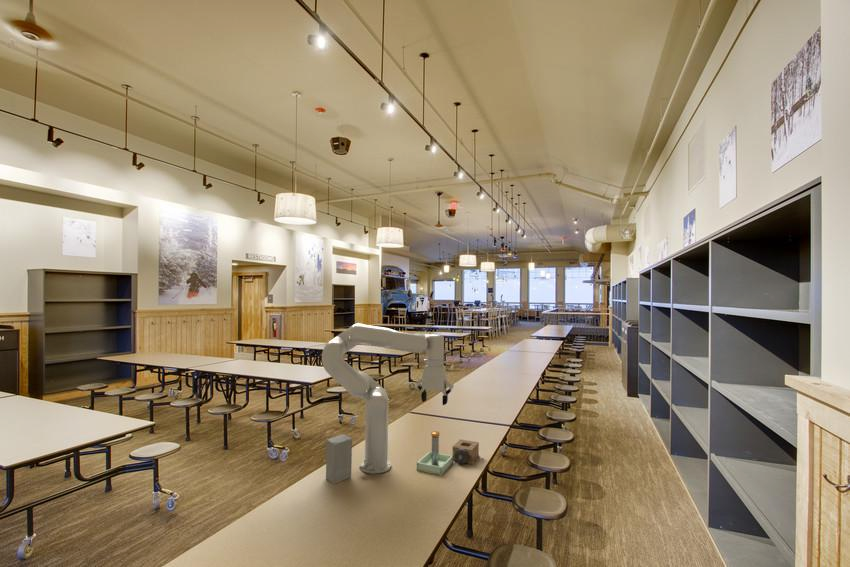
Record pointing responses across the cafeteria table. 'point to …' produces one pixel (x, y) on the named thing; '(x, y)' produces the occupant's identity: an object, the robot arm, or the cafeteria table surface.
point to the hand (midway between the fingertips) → (434, 402)
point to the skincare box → (338, 458)
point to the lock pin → (435, 448)
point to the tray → (427, 466)
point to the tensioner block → (465, 451)
